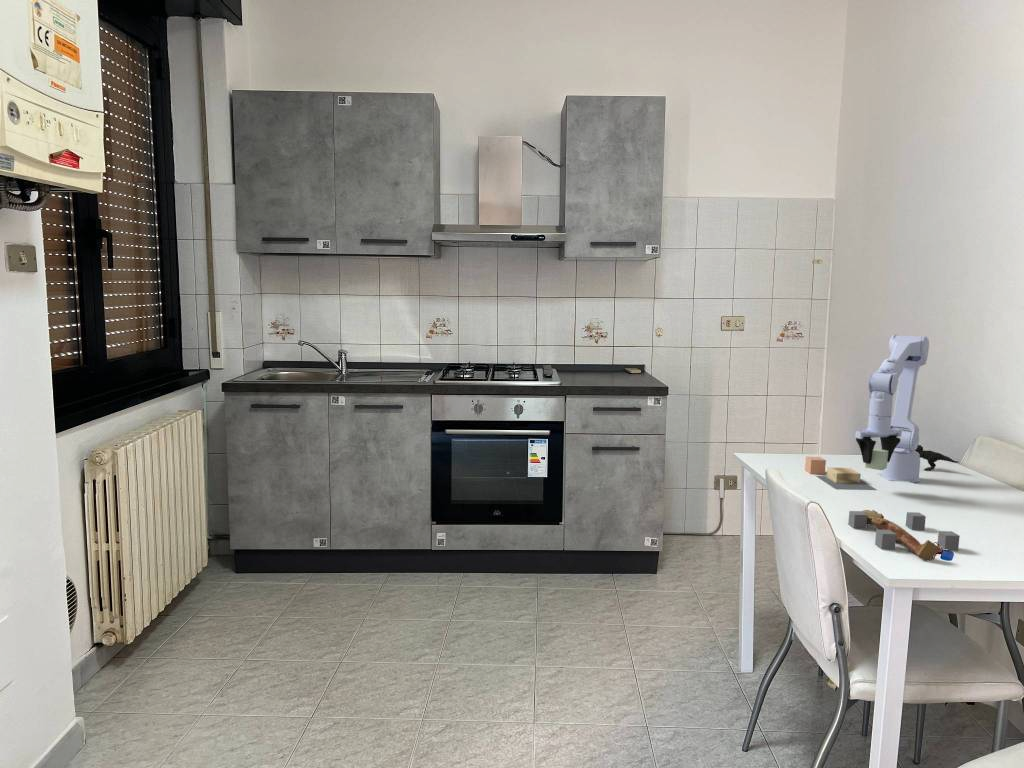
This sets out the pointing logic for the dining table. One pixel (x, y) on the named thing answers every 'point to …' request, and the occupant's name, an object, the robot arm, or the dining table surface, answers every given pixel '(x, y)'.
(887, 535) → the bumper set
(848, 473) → the oak slab
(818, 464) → the terracotta cube
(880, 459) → the sage cube
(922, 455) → the toy
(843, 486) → the mat
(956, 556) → the dining table surface
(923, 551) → the figurine
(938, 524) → the dining table surface
